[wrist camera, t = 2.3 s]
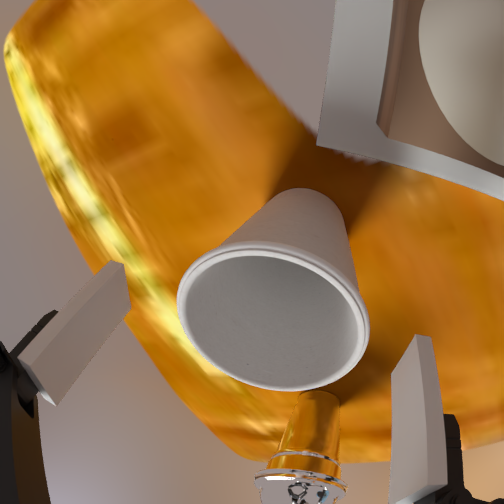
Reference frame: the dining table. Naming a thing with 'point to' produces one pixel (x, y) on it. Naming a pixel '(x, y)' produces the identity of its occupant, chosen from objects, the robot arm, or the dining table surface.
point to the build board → (376, 99)
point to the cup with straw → (306, 455)
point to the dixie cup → (279, 297)
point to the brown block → (447, 80)
